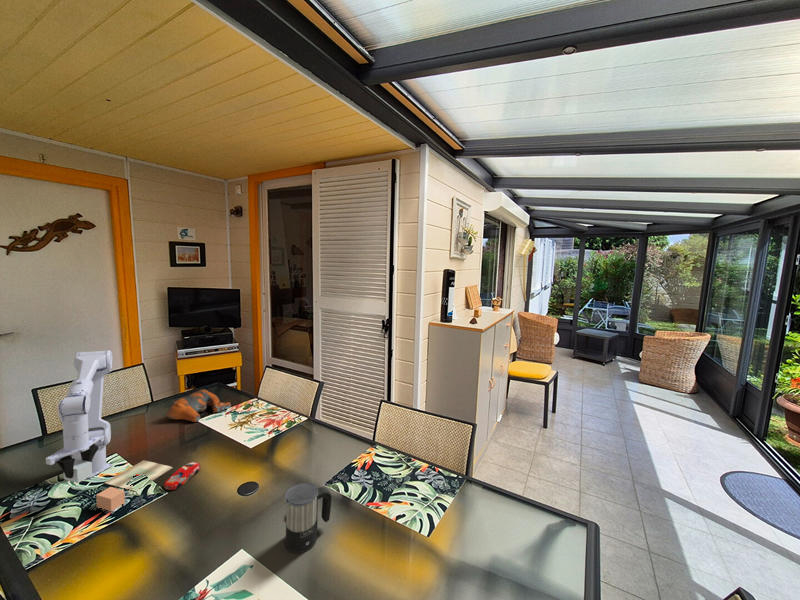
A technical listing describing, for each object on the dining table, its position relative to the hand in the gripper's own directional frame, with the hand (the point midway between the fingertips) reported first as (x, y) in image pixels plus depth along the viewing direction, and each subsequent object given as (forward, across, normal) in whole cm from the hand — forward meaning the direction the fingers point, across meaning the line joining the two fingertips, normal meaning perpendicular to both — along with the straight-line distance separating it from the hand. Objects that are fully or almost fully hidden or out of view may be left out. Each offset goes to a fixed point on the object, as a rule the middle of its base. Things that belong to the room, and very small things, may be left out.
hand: (78, 472), depth 105 cm
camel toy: (+10, +61, +12) cm, 63 cm away
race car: (+10, +18, -22) cm, 30 cm away
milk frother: (+9, +10, -74) cm, 75 cm away
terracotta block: (+9, +1, -12) cm, 15 cm away
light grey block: (+2, 0, 0) cm, 2 cm away
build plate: (+9, +15, -6) cm, 19 cm away
